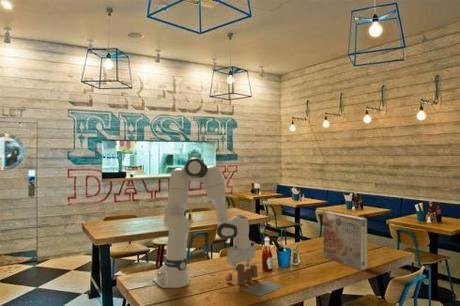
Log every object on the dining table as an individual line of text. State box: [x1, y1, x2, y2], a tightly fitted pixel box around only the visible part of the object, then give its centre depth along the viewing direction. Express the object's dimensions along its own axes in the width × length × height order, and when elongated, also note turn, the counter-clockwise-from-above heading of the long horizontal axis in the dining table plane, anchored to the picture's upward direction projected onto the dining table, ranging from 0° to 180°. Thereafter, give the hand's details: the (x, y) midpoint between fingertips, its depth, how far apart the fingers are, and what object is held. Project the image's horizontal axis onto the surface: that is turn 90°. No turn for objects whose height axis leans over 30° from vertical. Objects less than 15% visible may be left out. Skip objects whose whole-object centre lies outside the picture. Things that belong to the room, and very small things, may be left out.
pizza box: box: [323, 211, 368, 271], centre depth 233 cm, size 32×5×32 cm, turn 28°
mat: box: [241, 280, 284, 297], centre depth 191 cm, size 12×20×1 cm, turn 135°
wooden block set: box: [225, 263, 259, 286], centre depth 201 cm, size 18×9×10 cm, turn 114°
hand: (241, 268), depth 203 cm, fingers open, 8 cm apart
